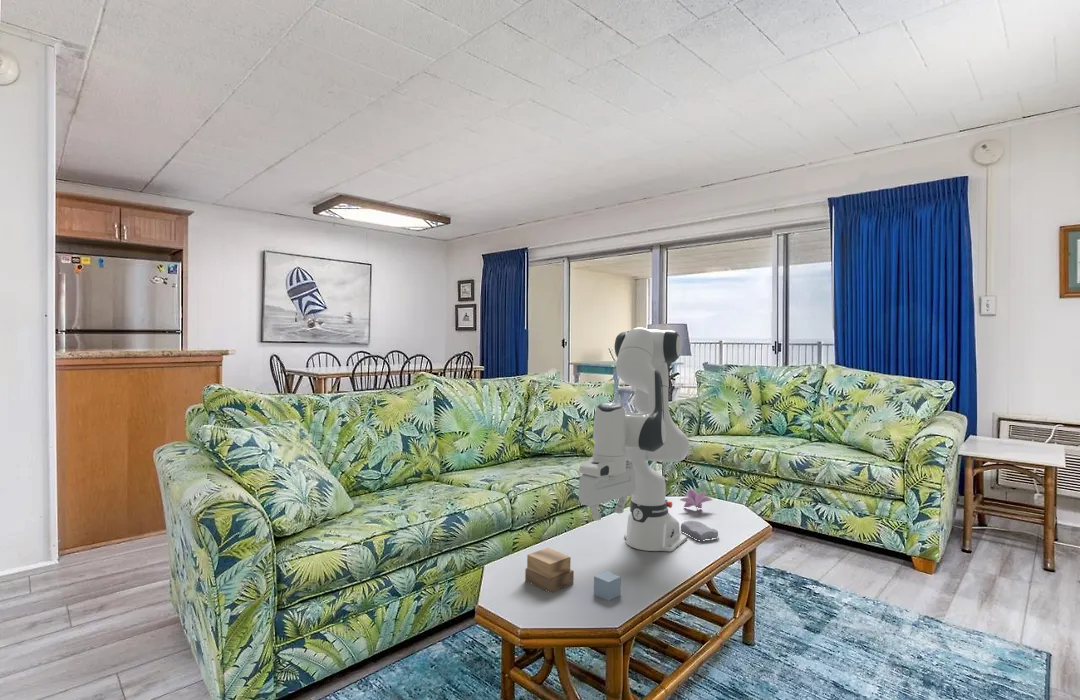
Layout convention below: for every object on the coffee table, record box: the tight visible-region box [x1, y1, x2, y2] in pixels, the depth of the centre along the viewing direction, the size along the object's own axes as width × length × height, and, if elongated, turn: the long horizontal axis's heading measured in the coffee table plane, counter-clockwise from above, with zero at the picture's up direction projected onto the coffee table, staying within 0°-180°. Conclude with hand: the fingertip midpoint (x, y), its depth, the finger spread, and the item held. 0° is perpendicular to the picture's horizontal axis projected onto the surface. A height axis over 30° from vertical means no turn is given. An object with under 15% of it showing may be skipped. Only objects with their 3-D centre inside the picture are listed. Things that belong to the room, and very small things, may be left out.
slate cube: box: [593, 571, 622, 602], centre depth 149 cm, size 5×5×5 cm
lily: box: [679, 488, 713, 513], centre depth 225 cm, size 12×12×10 cm
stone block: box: [680, 520, 719, 542], centre depth 197 cm, size 12×5×10 cm
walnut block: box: [524, 567, 575, 593], centre depth 157 cm, size 9×10×4 cm
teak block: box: [526, 547, 571, 579], centre depth 156 cm, size 8×9×4 cm
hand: (608, 516), depth 149 cm, fingers open, 8 cm apart
